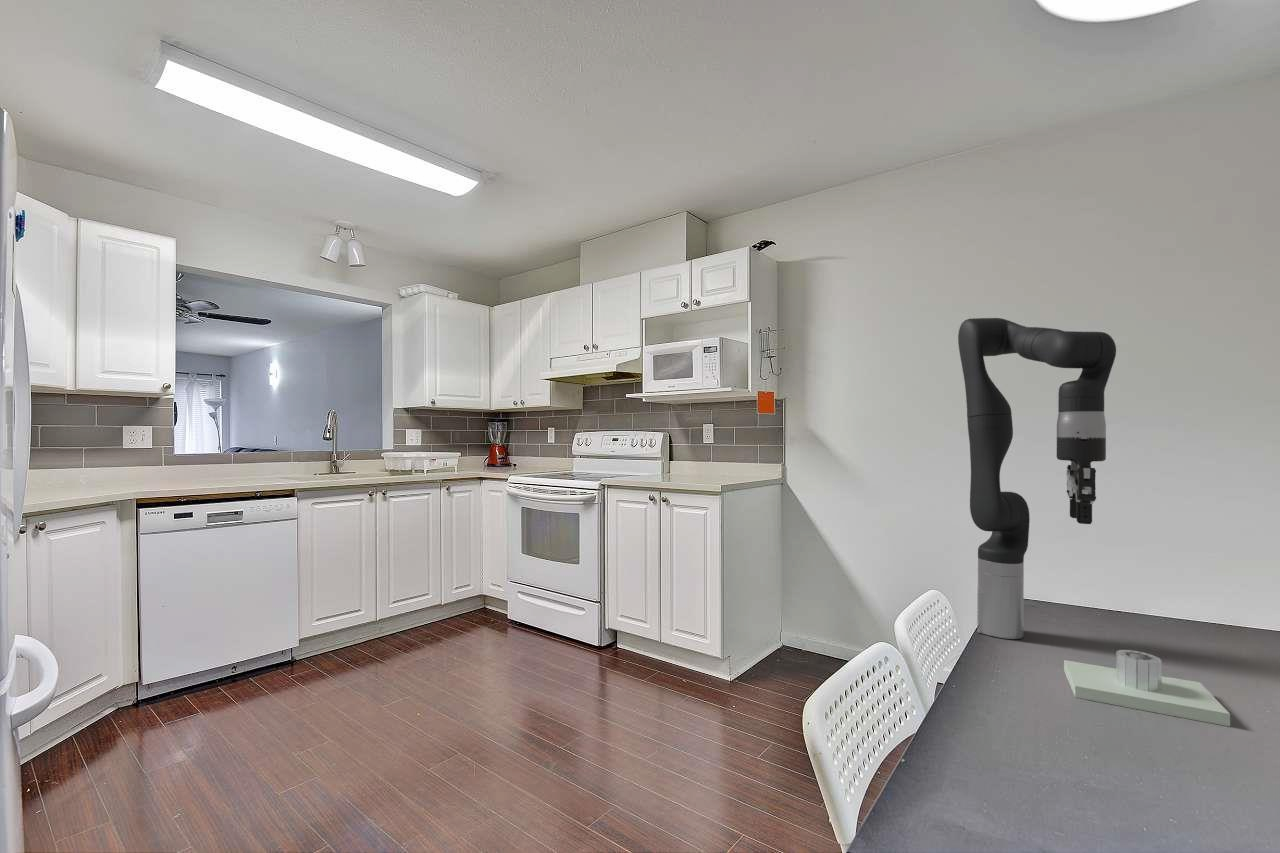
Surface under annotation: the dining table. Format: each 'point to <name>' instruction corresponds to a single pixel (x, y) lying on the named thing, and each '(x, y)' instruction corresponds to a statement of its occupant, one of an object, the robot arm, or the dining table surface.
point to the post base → (1146, 693)
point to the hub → (1139, 671)
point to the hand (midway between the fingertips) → (1080, 520)
